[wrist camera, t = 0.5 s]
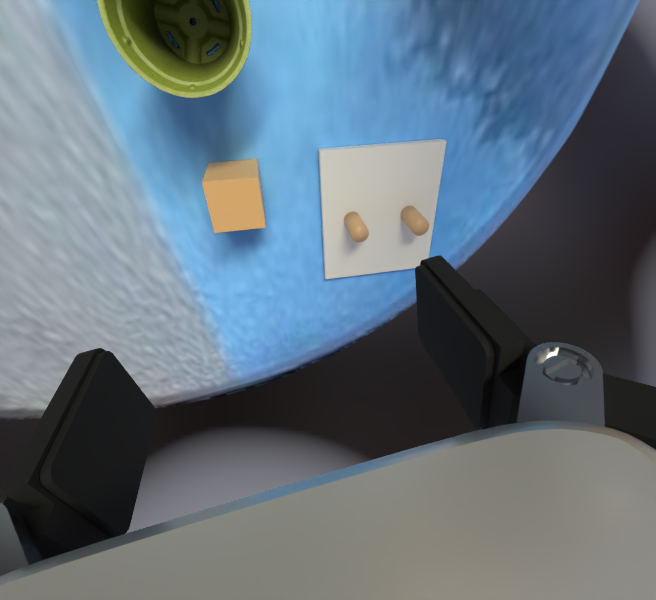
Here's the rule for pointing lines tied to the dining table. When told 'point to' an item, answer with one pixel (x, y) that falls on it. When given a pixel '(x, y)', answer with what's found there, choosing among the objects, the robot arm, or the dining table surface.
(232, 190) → the tan cardboard-like box
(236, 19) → the plant pot
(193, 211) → the dining table surface
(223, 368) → the dining table surface
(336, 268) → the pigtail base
